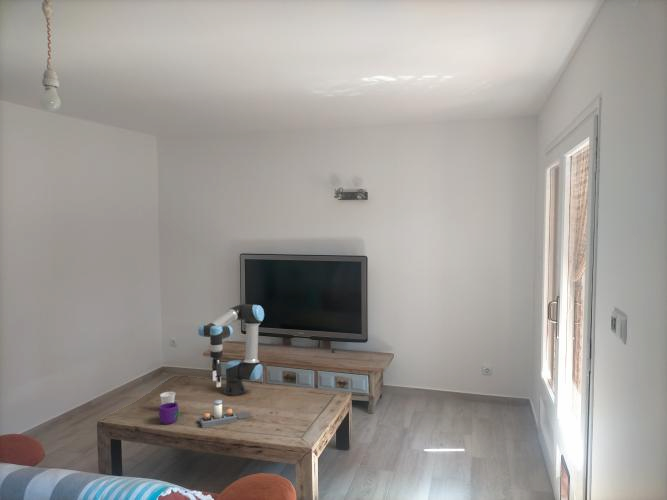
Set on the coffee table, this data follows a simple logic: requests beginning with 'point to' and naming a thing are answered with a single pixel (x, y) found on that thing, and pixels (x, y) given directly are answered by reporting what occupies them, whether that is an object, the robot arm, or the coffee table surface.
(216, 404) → the cylinder
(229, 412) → the orange oval ball
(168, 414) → the mug
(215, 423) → the tray
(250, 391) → the coffee table surface
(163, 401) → the cup
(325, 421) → the coffee table surface
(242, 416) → the mat
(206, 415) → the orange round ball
